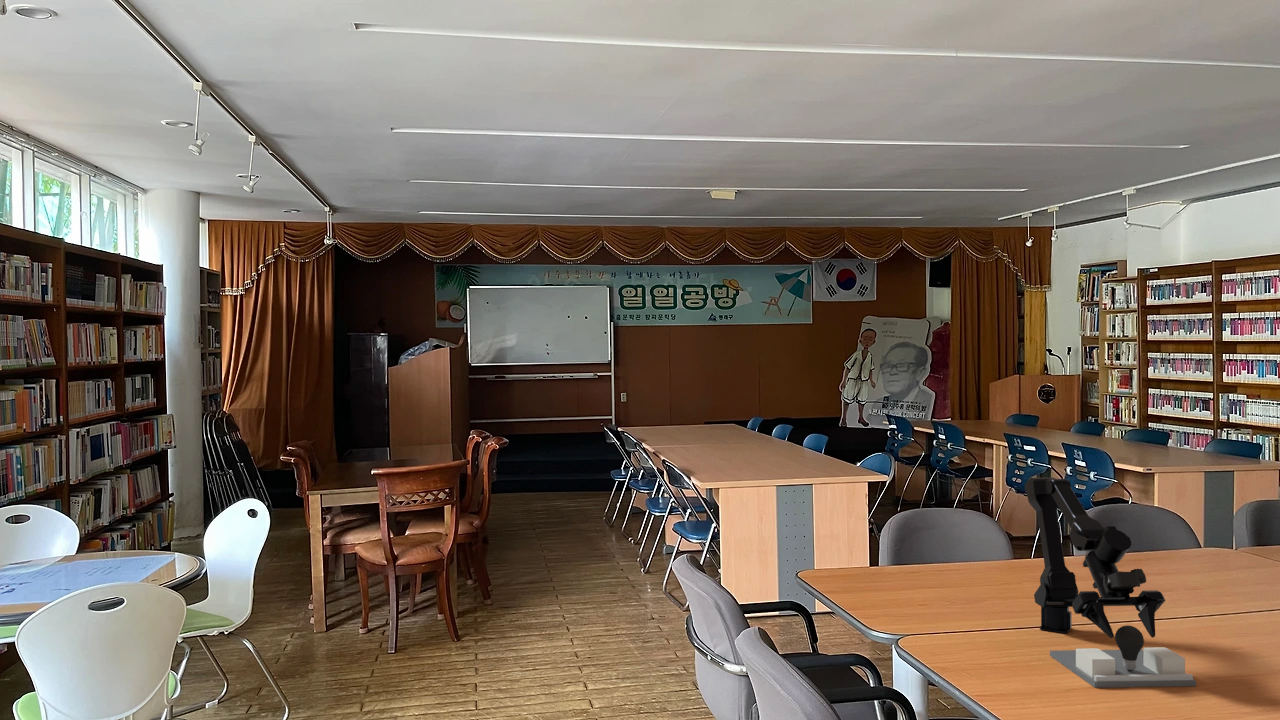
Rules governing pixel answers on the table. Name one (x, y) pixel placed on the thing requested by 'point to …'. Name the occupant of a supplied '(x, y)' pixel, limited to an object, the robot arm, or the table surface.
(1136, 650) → the black light bulb
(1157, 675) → the board
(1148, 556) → the table surface
